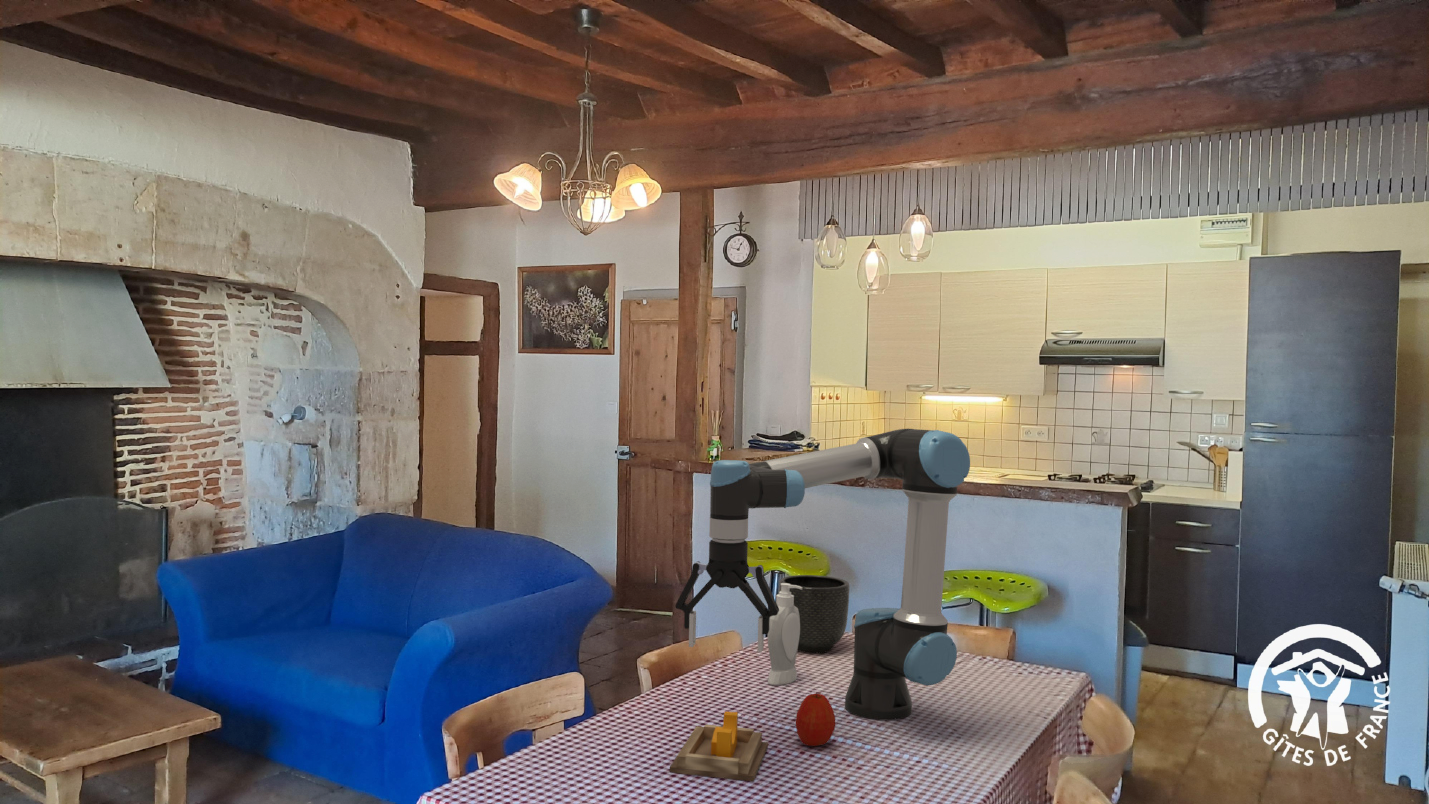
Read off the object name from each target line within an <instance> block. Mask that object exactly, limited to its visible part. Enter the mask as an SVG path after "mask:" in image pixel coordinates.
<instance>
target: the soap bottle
mask: <svg viewBox="0 0 1429 804" xmlns="http://www.w3.org/2000/svg"><path fill="white" fill-rule="evenodd" d="M790 588H798V589H803V587H800V586H797V585H790V584H788V583H781V591H780V592H778V594H776V595H775V597H776V599H775V601H776V603H777V605H778V608H779V612H778V614H777V615H775V616H771V617H770V621H769V632H768V634H767V648H768V653H769V654H768V655H769V659H770V660H769V661H770V667H771V668H770V670H769V674H768V679H767V683H768V685H771V686H782V685H783V686H784V685H789V684H791V683H793V682H795V681H796V680H797V679H798V673H797V667H796V662H797V661H796V660H797V655H798V644H799V637H800V615H799V611H798V608H797V607H795V606H794V596H793V595H791V592H789V590H790Z"/></svg>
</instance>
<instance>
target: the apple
mask: <svg viewBox="0 0 1429 804" xmlns="http://www.w3.org/2000/svg"><path fill="white" fill-rule="evenodd" d="M835 728H836V715H835V712H834V708H833V707H832V704H831V703H830V701H829V700H828V698H827V697H826V695H824V694H820V693H818V692H817V691H816V693H810V694H807V696H805V697H804V699H803V700H802V702H801V704H800V706H799V708H798V710H797V712H796V717H795V729H796V733H797V736H798V738H799V740H800V742H801V743H802V744H803V745H805V746H808V747H816V746H822V745H825V744H827V743H829V741H830V740H831V738H832V736H833V734H834V732H835Z"/></svg>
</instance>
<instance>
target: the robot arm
mask: <svg viewBox="0 0 1429 804" xmlns="http://www.w3.org/2000/svg"><path fill="white" fill-rule="evenodd" d="M970 467H971V457H970V453H969V450H968V448H967V446H966V444H965V443H964V442H963V440H962V439H961V438H960V437H959V436H958V435H956V434H953V433H951V432H946V431H944V430H939V429H934V430H931V429H916V428H901V429H900V428H899V429H895V430H891V431H886V432H882V433H877V434H874V435H870V436H865V437H861V438H859V439H858V440H857V441H856V442H855V443H852V444H847V445H843V446H836V447H830V448H826V449H820V450H815V451H810V452H805V453H801V454H800V453H799V454H794V455H789V456H784V457H778V458H773V459H768V460H763V461H758V462H751V463H749V462H748V461H745V460H740V459H739V460H738V459H737V460H736V459H734V460H732V459H720V460H715V461H714V462H713V464H712V465H711V471H710V481H709V485H710V496H709V497H710V499H709V500H710V501H709V503H710V507H709V514H710V515H709V534H708V536H709V538H711V539H710V540H709V545H708V546H709V548H708V563H707V564H706V563H701V562H700V561H699V560H698V561H696V562H694V563H693V564H692V566H691V574H690V576H689V578H688V581H687V582H686V584H685V586H684V587H683V588H682V589H683V590H682V592H681V593H680V595H679V597H678V598H677V600H676V603H675V609H676V610H680V611H682V612H683V613H684V616H683V617H684V618H683V619H684V620H683V621H684V624H683V627H684V629H685V630H686V629H687V630H688V648H693V647H694V646H695V645H696V642H697V641H696V640H697V639H696V637H697V635H696V634H697V629H696V628H697V626H696V625H697V610H693V609H694V608H695V607H696V606H697V604H699V602H700V601H701V600H702V599H703V597H705V596H706V595H707V594H708V592H709V591H710V590H711V589H712V588H713V587H714V585H715V586H716V587H718V588H722V589H723V588H729V589H736V588H739V590H740V591H742V592H743V593H744V595H745V596H746V597H747V599H748V600H749V601H750V602H751V604H752V605H753V607H754V608H755V609H756V611H758V614H760V615H759V616H758V619H757V628H758V629H757V653H763V650H764V643H765V642H764V641H765V640H764V638H765V636H764V635H768V632H769V621H770V617H771V616H775V615H777V614H778V612H779V608H778V605H777V603H776V599H775V597H774V595H773V593H772V590H771V589H770V586H769V584H768V582H767V579H766V577H765V571H764V566H763V565H762V564H759V565H756V566H750V565H748V545H749V544H748V542H747V539H748V537H749V510H750V509H771V508H778V509H779V508H784V509H787V508H791V507H798V506H799V505H800V504H801V503H802V502H803V500H804V497H805V491H806V489H808V488H813V487H817V486H823V485H827V484H828V485H829V484H833V483H838V482H843V481H847V480H852V479H858V478H861V477H863V478H864V479H866V480H875V479H897V480H901V481H902V484H901V485H902V487H901V489H902V492H903V493H904V494H905V495H906V497H907V498H908V500H907V501H908V502H907V505H908V506H907V517H906V533H905V543H904V544H905V545H904V559H903V560H904V561H903V572H902V574H903V576H902V588H901V601H900V602H901V604H900V608H897V607H875V608H874V607H872V608H870V607H869V608H863V609H860V610H858V611H857V612H856V614H855V620H854V624H853V625H854V626H853V628H854V642H853V643H854V645H853V649H854V650H853V674H852V678H851V680H850V683H849V684H848V685H849V686H848V688H847V690H846V693H845V697H844V707H845V710H847V712H849V713H851V714H853V715H855V716H858V717H861V718H865V719H870V720H880V721H881V720H883V721H887V720H888V721H889V720H890V721H892V720H894V721H895V720H900V719H904V718H906V717H910V716H911V714H912V713H913V712H912V711H913V702H912V699H911V695H910V691H909V688H908V684H907V680H909V682H913V683H917V684H920V685H923V686H933V685H936V684H939V683H941V682H942V681H943V682H944V680H945V679H946V678H947V676H949V675H950V674H951V672H952V671H953V669H954V667H955V664H956V661H957V657H958V649H957V645H956V643H955V642H954V640H953V638H952V637H951V636H950V635H949V634H948V624H949V621H948V619H947V618H946V617H945V615H944V614H943V613H942V603H943V592H944V591H943V590H944V576H945V564H946V548H947V536H948V534H947V533H948V519H949V504H950V502H951V500H953V499H954V498H955V497H956V496H957V494H958V486H960V485H961V484H963V483H964V481H965V479H966V478H968V476H969V473H970V470H971V469H970ZM704 571H706V572H707V574H708V575H709V578H710V579H709V580H708V581H707V582H706V583H705V585H704V586H703V587H702V588H701V589H700V590H699V591H698V592H697V594H696V595H695V596H694V597H693V598H692V599H691V600H690V601H689V603H686V601H687V600H688V598H689V595H690V594H691V592H692V591H693V590H692V589H693V588H694V586H695V584H696V582H697V581H698V578H699V576H700V575H703V573H704ZM749 574H751V575H752V577H753V578H754V579H755V580H756V582H757V584H758V585H757V586H758V587H759V590H760V591H761V593H762V595H763V598H764V600H765V602H766V604H767V605H766V604H765V603H764V602H763V600H762V599H761V597H759V595H758V594H757V592H756V591H755V590H754V589H753V588H752V586H751V585H750V583H749V581H748V580H747V576H748V575H749ZM906 679H907V680H906Z"/></svg>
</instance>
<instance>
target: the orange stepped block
mask: <svg viewBox="0 0 1429 804" xmlns="http://www.w3.org/2000/svg"><path fill="white" fill-rule="evenodd" d="M738 714H739V712H738V711H726V710H725V711H724V713H723V722H722V723H723V724H722V726H723V727H716V728H715V730H714V733H713V738H712V742H711V754H712V755H716V756H718V757H728V758H733V755H734V752H735V749H736V746H737V727H738V718H739V717H738V716H739V715H738Z"/></svg>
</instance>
